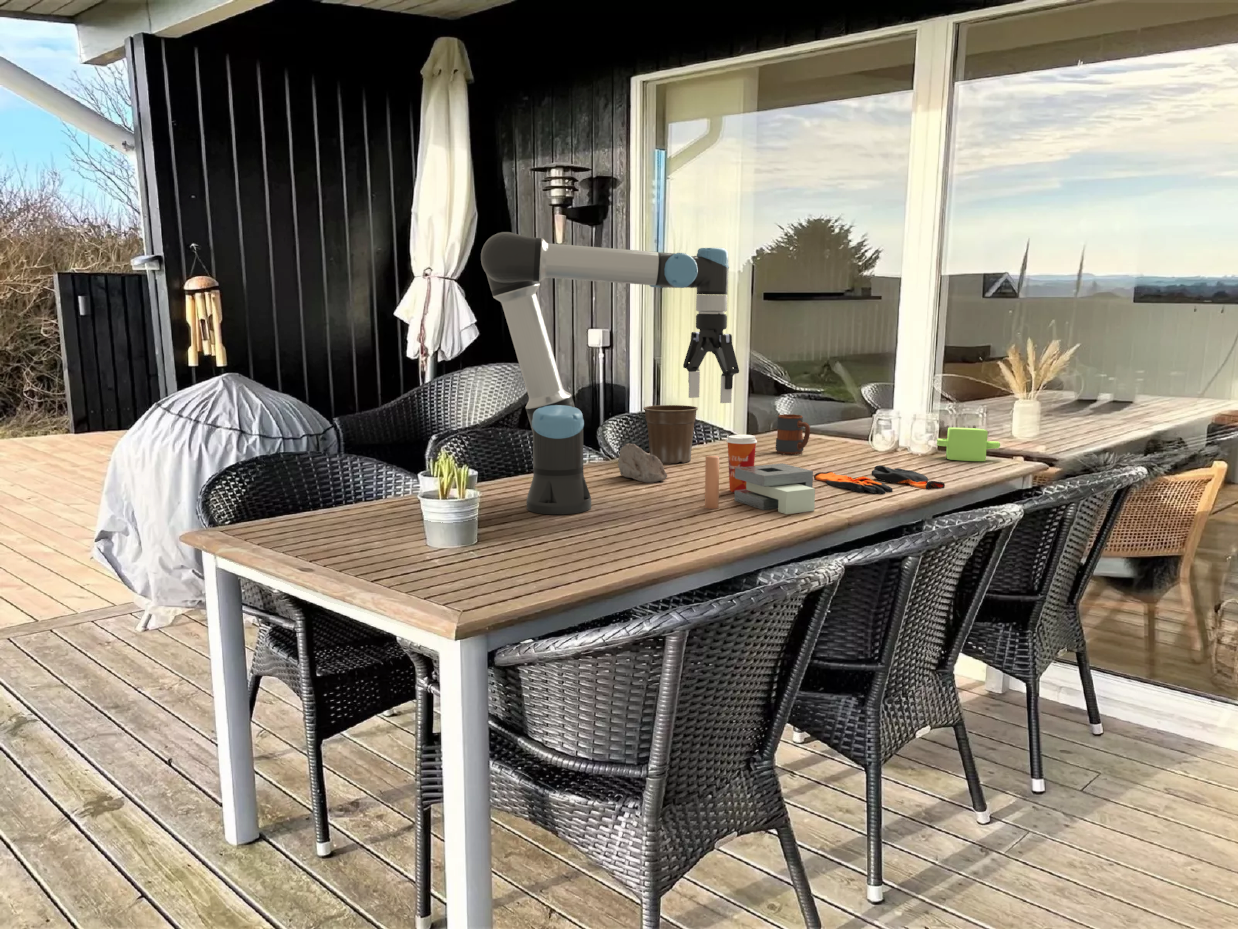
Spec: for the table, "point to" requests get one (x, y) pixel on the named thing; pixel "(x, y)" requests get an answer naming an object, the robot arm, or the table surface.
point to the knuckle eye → (788, 496)
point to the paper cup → (740, 457)
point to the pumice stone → (640, 464)
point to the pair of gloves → (880, 474)
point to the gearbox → (967, 444)
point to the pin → (712, 482)
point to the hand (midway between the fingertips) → (709, 400)
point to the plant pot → (670, 432)
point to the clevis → (769, 482)
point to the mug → (791, 434)
